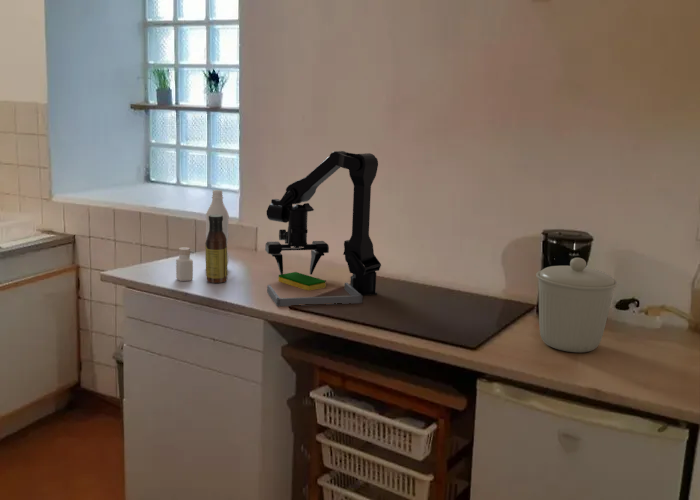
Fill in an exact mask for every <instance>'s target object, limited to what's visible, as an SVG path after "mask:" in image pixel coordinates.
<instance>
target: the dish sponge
mask: <svg viewBox="0 0 700 500" xmlns="http://www.w3.org/2000/svg"><path fill="white" fill-rule="evenodd" d="M277 279H278V280H277V282H280V283H282V284H286V285H288V286H292V287H296V288H299V289H302V290H304V291H314V290H319V289H320V290H321V289H323V288H324V289H325V288H326V287H327V286H326V285H327V283H326V282H327V281H326V280H324V279H320V278H317V277H315V276H312V275H311V276H310V275H307V274H305V273H302V272H301V273H300V272H297V271H294V272H287V273H283V274H278V278H277Z"/></svg>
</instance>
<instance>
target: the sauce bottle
mask: <svg viewBox="0 0 700 500" xmlns="http://www.w3.org/2000/svg"><path fill="white" fill-rule="evenodd" d="M222 221H223V216H222V215H218V214H215V215H209V227H210V228H209V233H208V237H207V240H206V239H205V240H206V241H205V243H204V244H205V247H204V249H205V257H206V260H205V276H206V281H207V282H208V283H212V284H223V283H225V282H227V280H228V265H227V252H228V241H227V239H226V236H225V234H224V233H223V231H222V230H223V228H222Z"/></svg>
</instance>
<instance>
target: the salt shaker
mask: <svg viewBox="0 0 700 500" xmlns="http://www.w3.org/2000/svg"><path fill="white" fill-rule="evenodd" d="M178 255H179V256H178V258H177V259H176V260H175V264H176V265H175V269H176V270H175V271H176V273H175V277H176V279H177V280H178V281H179V282H189V281H193V278H194V277H193V275H194V272H193V271H194V266H193V265H194V263H193V259H192V258H191V257H190V255H191V248H190V247H183V246H182V247H179V248H178Z"/></svg>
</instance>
